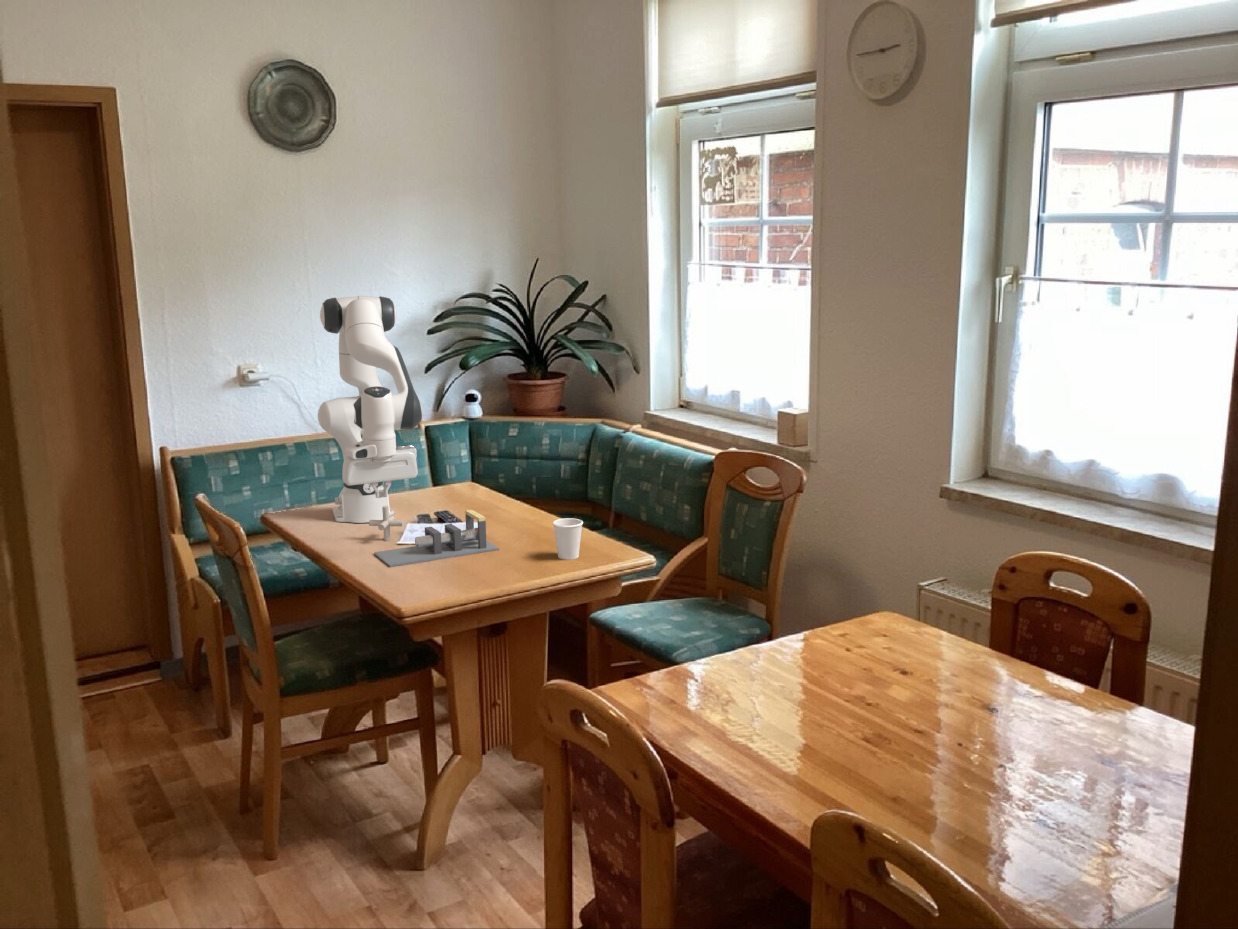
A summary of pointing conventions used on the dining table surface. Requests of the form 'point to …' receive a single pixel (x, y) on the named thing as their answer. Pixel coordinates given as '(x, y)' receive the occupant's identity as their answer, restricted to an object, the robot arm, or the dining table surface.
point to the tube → (446, 538)
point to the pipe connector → (386, 522)
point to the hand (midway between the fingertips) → (381, 497)
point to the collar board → (442, 551)
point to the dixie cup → (568, 537)
